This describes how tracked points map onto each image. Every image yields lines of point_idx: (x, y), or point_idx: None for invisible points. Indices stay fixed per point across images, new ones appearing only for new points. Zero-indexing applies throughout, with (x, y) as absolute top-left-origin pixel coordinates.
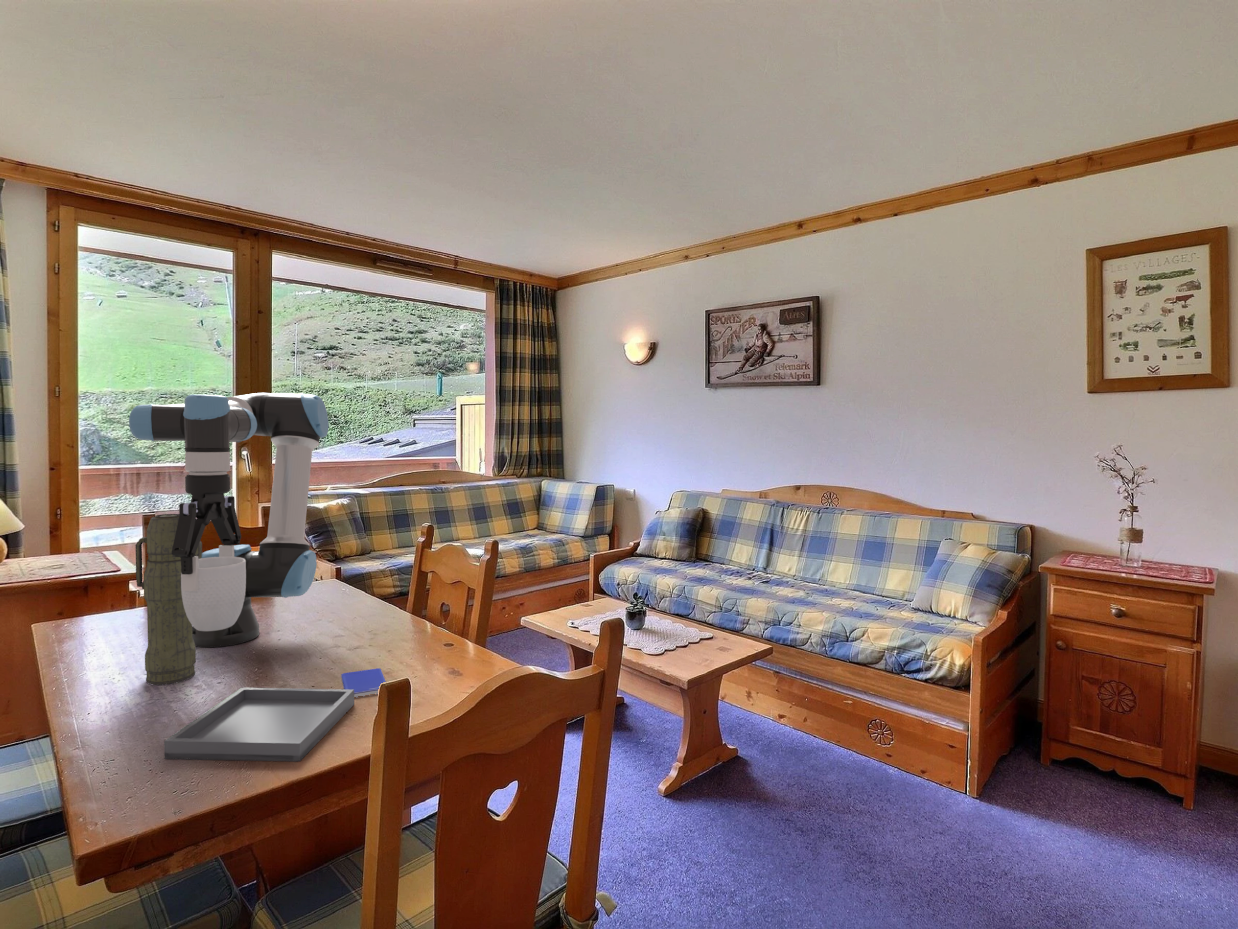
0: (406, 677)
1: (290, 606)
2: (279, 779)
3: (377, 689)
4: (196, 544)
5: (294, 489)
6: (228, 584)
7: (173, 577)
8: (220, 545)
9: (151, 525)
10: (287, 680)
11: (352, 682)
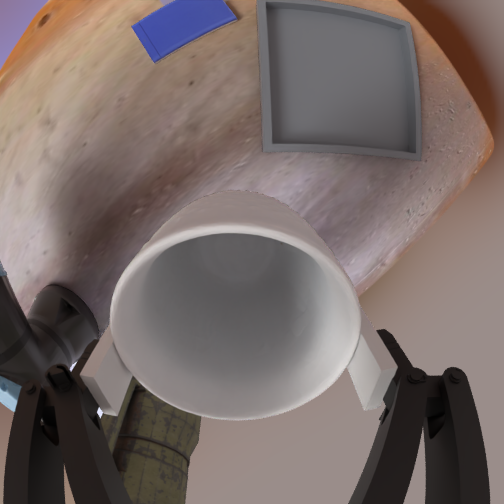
0: None
1: None
2: (426, 40)
3: None
4: (409, 417)
5: None
6: (295, 216)
7: (178, 414)
8: (111, 413)
9: None
10: (171, 134)
11: (190, 28)
